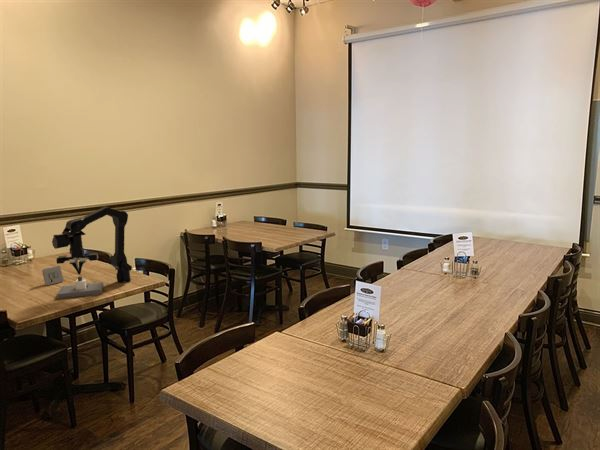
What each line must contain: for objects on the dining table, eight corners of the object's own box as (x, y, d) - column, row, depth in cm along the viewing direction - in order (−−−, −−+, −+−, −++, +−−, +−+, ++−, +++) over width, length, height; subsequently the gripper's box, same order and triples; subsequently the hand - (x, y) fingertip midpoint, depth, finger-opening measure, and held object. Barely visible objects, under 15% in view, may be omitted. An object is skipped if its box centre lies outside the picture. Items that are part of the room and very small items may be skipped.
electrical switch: (46, 286, 246) (43, 269, 245) (42, 285, 249) (40, 268, 248) (64, 281, 253) (61, 265, 252) (60, 281, 256) (57, 265, 255)
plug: (86, 289, 237) (85, 275, 235) (85, 292, 233) (83, 277, 231) (77, 290, 235) (75, 276, 234) (76, 293, 231) (74, 278, 230)
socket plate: (103, 286, 243) (103, 282, 243) (101, 294, 231) (100, 289, 230) (62, 290, 237) (62, 286, 237) (57, 299, 225) (57, 294, 225)
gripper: (97, 239, 240) (101, 268, 243) (59, 243, 234) (62, 271, 237) (95, 244, 229) (98, 273, 232) (54, 247, 224) (58, 277, 227)
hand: (79, 274), depth 232 cm, fingers closed
